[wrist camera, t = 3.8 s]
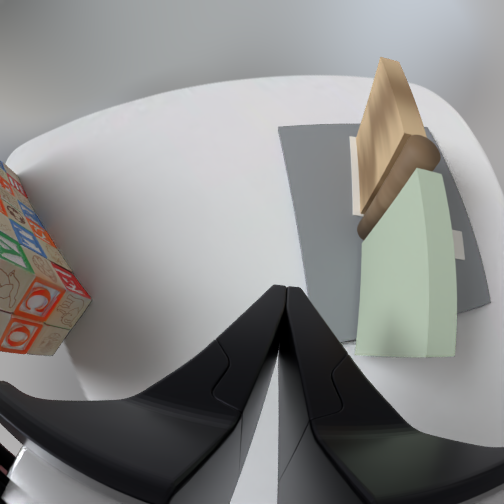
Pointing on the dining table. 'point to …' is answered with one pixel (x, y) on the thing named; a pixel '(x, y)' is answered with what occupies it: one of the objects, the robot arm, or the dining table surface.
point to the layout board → (355, 223)
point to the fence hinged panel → (410, 276)
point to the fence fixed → (389, 144)
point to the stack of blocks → (32, 278)
